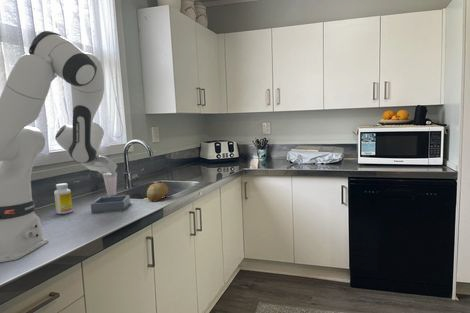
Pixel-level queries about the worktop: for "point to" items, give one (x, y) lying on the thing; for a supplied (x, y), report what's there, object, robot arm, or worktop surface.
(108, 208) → the tray
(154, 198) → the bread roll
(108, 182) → the smoothie
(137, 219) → the worktop surface
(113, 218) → the worktop surface
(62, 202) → the supplement bottle
